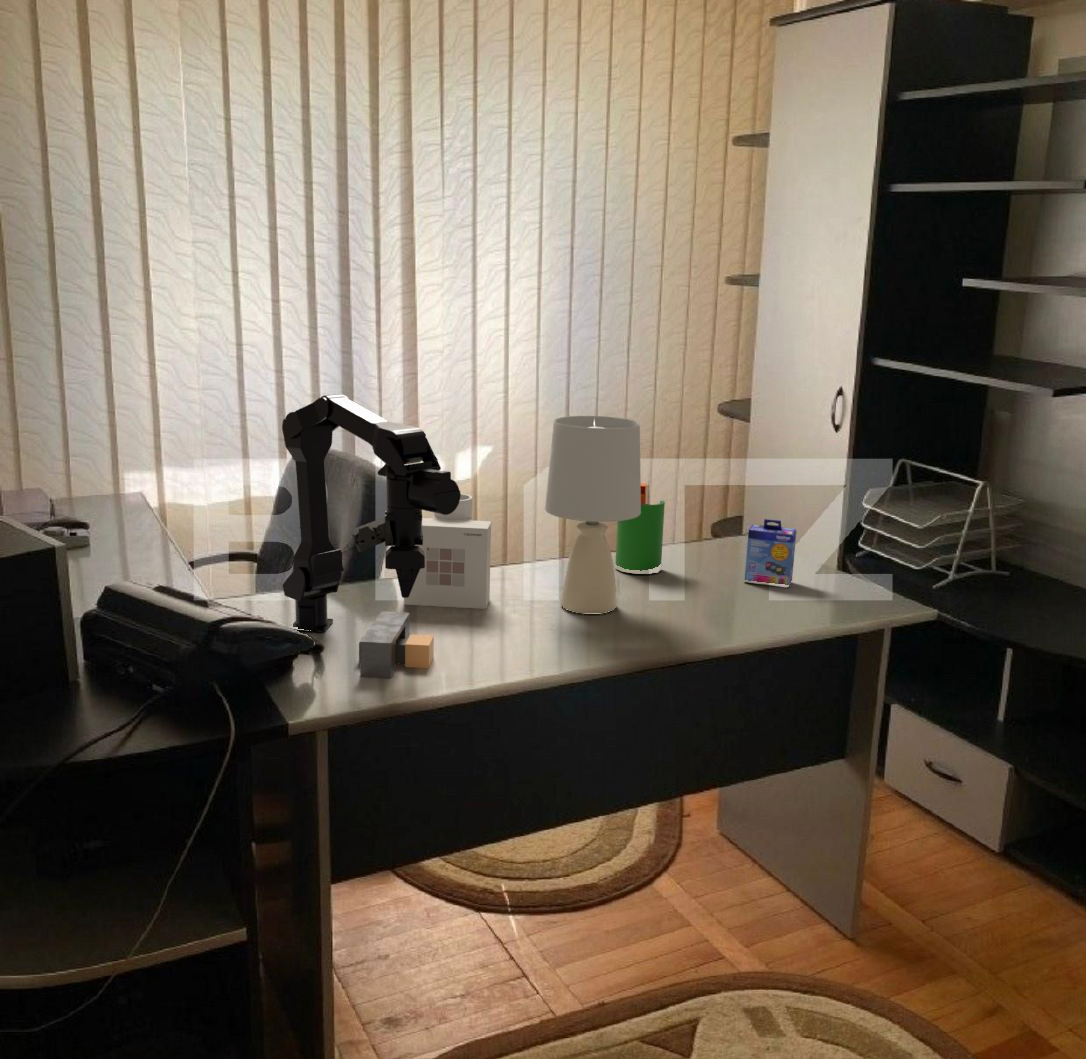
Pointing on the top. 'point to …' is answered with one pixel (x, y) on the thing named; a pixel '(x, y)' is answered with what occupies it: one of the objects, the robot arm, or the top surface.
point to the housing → (383, 644)
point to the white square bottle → (454, 560)
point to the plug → (414, 651)
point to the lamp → (593, 500)
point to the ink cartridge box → (770, 553)
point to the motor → (641, 537)
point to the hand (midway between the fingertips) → (405, 597)
